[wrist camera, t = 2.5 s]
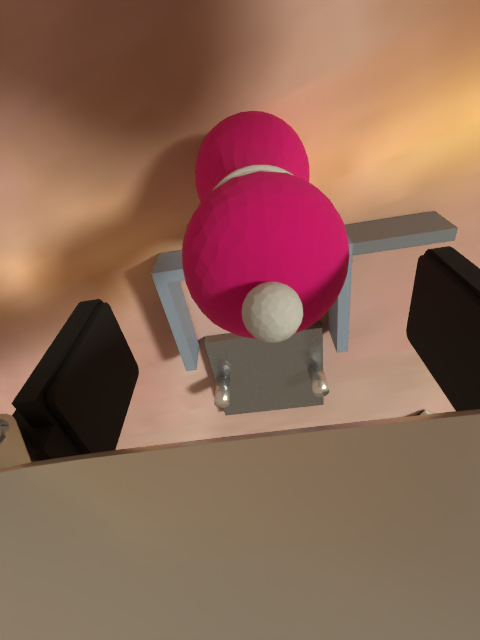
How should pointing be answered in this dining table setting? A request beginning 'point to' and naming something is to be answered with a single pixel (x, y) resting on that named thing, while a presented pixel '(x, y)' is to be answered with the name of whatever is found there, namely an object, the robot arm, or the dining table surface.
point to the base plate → (267, 371)
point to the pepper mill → (262, 232)
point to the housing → (360, 241)
